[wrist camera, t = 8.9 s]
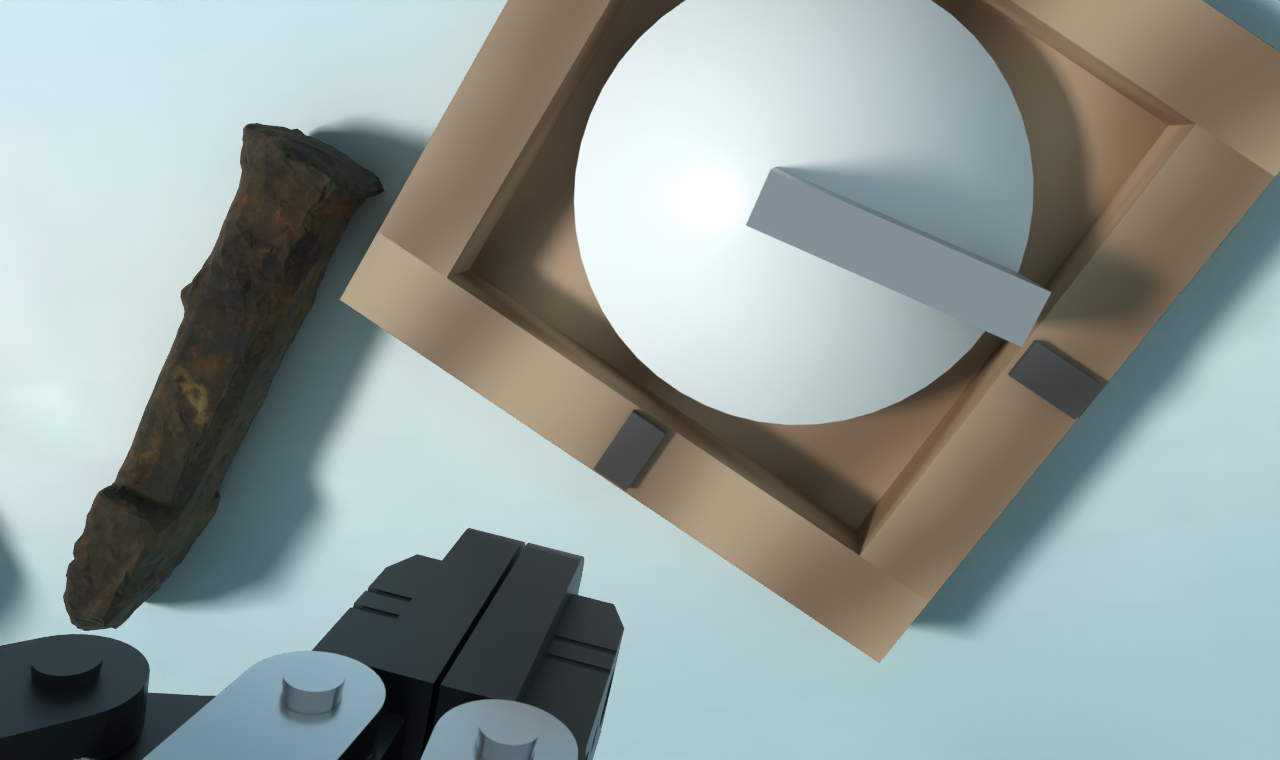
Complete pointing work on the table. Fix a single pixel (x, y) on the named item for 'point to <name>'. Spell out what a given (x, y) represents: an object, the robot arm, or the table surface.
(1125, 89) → the wooden frame
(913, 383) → the dial
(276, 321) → the hand tool
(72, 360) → the table surface
